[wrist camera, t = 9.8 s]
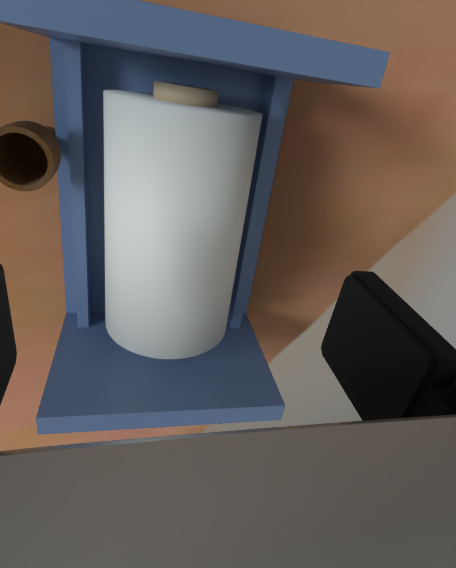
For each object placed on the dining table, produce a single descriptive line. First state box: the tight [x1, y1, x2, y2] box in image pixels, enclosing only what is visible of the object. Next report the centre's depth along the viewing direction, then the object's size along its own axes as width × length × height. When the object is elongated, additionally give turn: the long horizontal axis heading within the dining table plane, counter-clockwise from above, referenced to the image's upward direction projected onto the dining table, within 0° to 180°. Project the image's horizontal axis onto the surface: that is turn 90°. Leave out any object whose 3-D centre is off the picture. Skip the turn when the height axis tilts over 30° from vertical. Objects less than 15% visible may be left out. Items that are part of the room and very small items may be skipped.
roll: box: [103, 81, 262, 359], centre depth 18 cm, size 12×6×6 cm, turn 172°
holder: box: [0, 0, 390, 434], centre depth 18 cm, size 16×11×9 cm
